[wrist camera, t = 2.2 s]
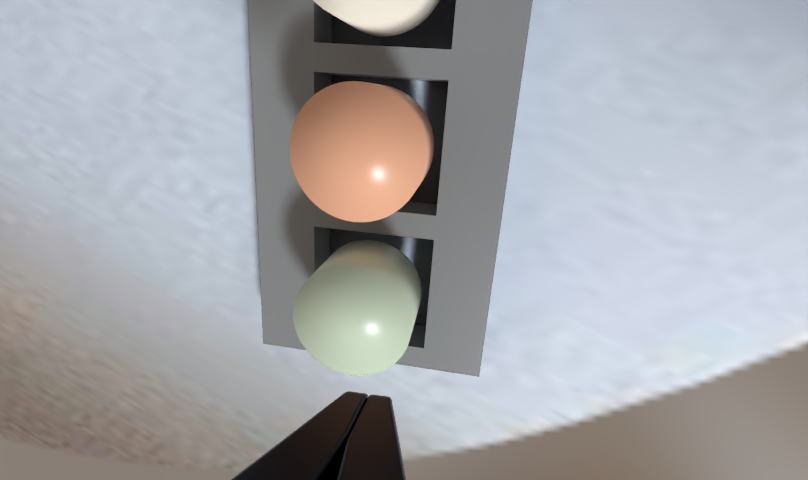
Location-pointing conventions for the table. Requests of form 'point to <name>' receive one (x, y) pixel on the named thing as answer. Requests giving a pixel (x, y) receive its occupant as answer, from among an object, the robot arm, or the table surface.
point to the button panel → (443, 222)
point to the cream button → (380, 14)
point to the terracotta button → (361, 150)
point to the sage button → (359, 308)
